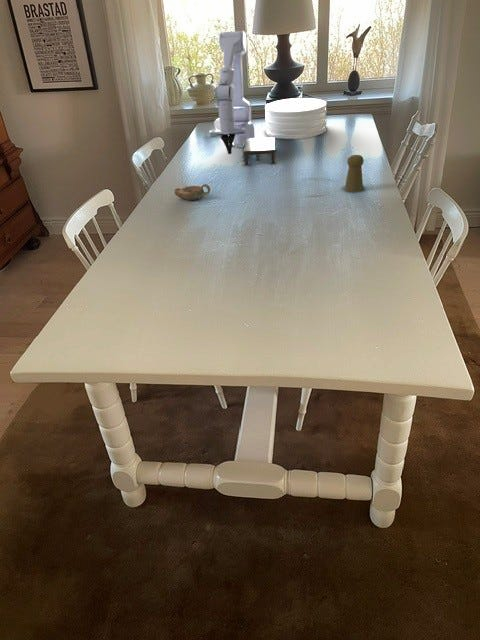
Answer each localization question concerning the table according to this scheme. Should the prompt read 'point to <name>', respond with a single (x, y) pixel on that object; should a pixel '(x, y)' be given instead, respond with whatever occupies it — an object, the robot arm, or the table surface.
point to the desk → (259, 148)
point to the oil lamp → (191, 192)
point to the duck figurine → (217, 124)
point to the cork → (354, 174)
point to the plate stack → (296, 118)
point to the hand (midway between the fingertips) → (229, 153)
